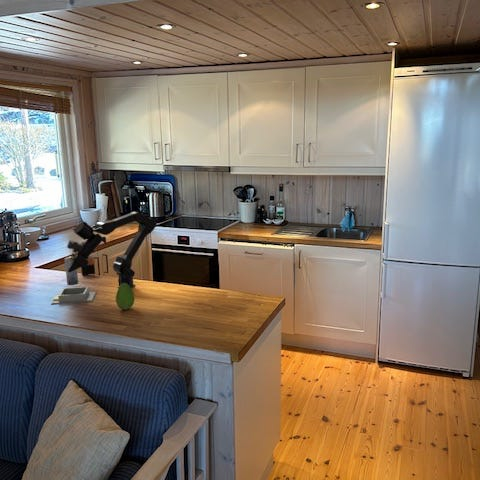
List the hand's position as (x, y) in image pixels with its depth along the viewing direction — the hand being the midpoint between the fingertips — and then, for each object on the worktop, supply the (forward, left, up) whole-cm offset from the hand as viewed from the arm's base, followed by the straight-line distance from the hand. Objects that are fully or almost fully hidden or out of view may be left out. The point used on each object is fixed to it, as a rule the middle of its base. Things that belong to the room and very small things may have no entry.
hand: (68, 270), depth 224 cm
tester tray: (-2, 0, -14) cm, 14 cm away
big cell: (-1, -1, -7) cm, 7 cm away
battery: (+19, -37, -14) cm, 44 cm away
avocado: (-34, +5, -14) cm, 37 cm away
